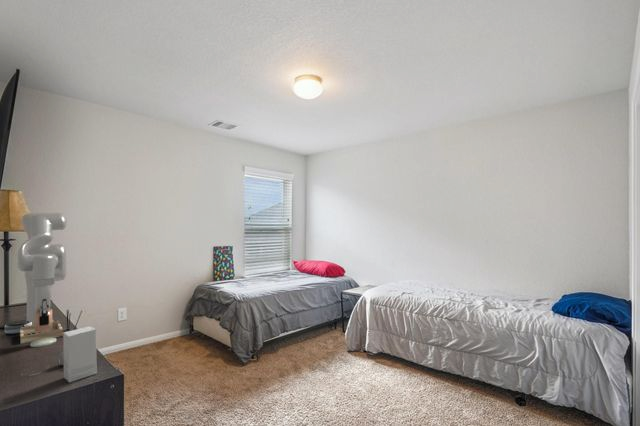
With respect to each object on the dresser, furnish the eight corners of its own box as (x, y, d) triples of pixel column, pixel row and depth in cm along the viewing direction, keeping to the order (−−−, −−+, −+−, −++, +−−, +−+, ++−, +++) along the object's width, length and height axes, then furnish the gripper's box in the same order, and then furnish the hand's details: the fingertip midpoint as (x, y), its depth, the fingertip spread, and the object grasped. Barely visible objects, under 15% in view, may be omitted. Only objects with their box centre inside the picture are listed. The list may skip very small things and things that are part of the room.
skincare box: (91, 369, 119) (91, 325, 120) (97, 374, 115) (97, 328, 116) (62, 378, 113) (62, 331, 113) (68, 383, 109) (68, 335, 109)
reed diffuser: (57, 363, 126) (57, 309, 127) (80, 357, 131) (80, 306, 131) (60, 371, 118) (60, 314, 119) (84, 365, 123) (84, 310, 124)
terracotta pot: (34, 329, 149) (34, 303, 149) (51, 326, 153) (51, 300, 153) (35, 331, 144) (35, 305, 145) (52, 328, 148) (52, 302, 149)
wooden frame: (20, 335, 160) (20, 327, 160) (59, 328, 170) (59, 320, 171) (20, 344, 148) (20, 334, 149) (63, 335, 159) (63, 327, 159)
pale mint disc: (29, 343, 149) (29, 341, 149) (55, 338, 155) (55, 336, 155) (30, 348, 142) (30, 346, 142) (57, 343, 148) (57, 341, 148)
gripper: (31, 281, 153) (31, 321, 152) (33, 286, 140) (33, 329, 140) (52, 279, 158) (52, 318, 157) (56, 283, 145) (56, 325, 145)
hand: (43, 323), depth 149 cm, fingers closed on terracotta pot, 6 cm apart
